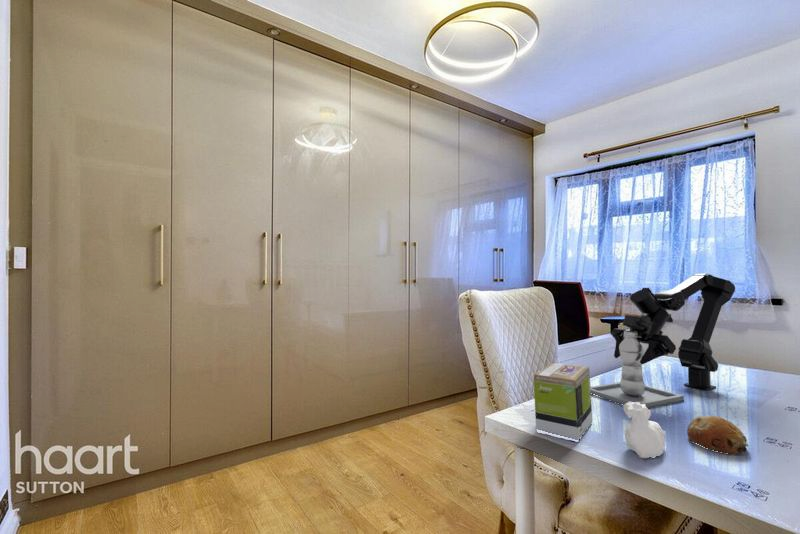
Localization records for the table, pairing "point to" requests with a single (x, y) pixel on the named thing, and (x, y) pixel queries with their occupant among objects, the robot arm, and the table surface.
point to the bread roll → (717, 435)
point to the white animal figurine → (643, 431)
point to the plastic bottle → (631, 365)
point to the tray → (650, 397)
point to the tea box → (563, 400)
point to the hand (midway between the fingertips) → (627, 360)
